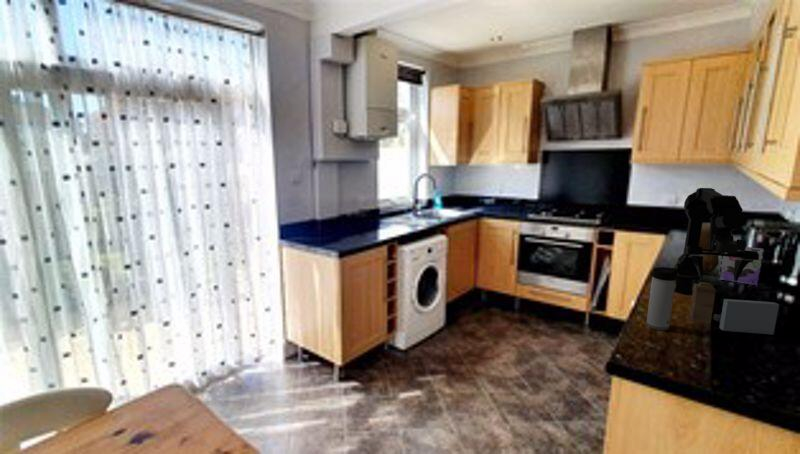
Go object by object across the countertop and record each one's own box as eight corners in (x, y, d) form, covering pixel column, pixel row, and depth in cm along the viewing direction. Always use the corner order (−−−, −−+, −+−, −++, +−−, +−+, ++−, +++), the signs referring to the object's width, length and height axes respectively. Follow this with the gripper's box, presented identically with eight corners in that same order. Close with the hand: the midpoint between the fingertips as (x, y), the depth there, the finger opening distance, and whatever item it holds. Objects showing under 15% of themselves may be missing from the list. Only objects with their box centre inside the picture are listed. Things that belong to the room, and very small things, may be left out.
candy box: (717, 280, 178) (722, 245, 175) (718, 277, 183) (723, 243, 180) (757, 287, 169) (764, 250, 166) (758, 284, 173) (764, 248, 171)
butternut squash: (675, 269, 196) (681, 220, 192) (697, 268, 198) (704, 220, 194) (700, 277, 182) (708, 225, 178) (724, 276, 185) (732, 224, 181)
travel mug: (673, 331, 123) (682, 271, 120) (651, 329, 125) (658, 270, 121) (664, 323, 129) (672, 266, 126) (643, 321, 131) (650, 264, 127)
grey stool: (705, 318, 134) (709, 290, 132) (751, 321, 131) (756, 293, 130) (723, 330, 124) (727, 301, 123) (773, 334, 122) (779, 304, 120)
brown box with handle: (689, 316, 136) (694, 280, 134) (707, 318, 134) (712, 282, 132) (692, 321, 132) (697, 284, 130) (710, 324, 129) (716, 286, 127)
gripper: (694, 228, 125) (691, 276, 124) (768, 232, 118) (766, 283, 117) (684, 231, 135) (681, 275, 134) (751, 235, 128) (749, 282, 127)
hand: (718, 279), depth 128 cm, fingers open, 9 cm apart
